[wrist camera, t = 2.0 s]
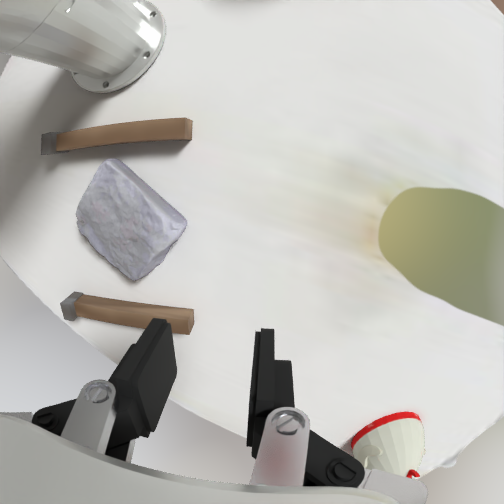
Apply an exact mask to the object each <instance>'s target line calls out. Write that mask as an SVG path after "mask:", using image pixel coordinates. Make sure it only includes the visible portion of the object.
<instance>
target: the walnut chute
mask: <svg viewBox="0 0 504 504" xmlns="http://www.w3.org/2000/svg"><path fill="white" fill-rule="evenodd" d="M168 140H192V120H190V119H187V118H170V119H156V120H145V121H135V122H126V123H118V124H111V125H104V126H97V127H91V128H85V129H80V130H74V131H69V132H64V133H59V132H50V133H46V134H42V143H41V155H46V154H57V153H65V152H69V150H74V149H81V148H88V147H96V146H104V145H114V144H124V143H136V142H150V141H168ZM60 305H61V309H62V312H63V316H64V319H65V320H69V321H74V320H75V319H76V318H77V317H78V316H79V317H84V318H89V319H93V320H98V321H103V322H109V323H114V324H119V325H125V326H131V327H137V328H143V329H146V328H147V326H148V325H149V323H150V322H151V320H152V319H153V318H160V319H166V320H167V323H170V324H171V328H172V333H178V334H186V335H189V334H190V332H191V330H192V327H193V325H194V311H193V309H186V308H177V307H168V306H160V305H152V304H144V303H136V302H129V301H122V300H115V299H109V298H102V297H96V296H90V295H84V294H83V293H79V292H73V293H72V294H71V295H70V296H69V297H67V298H66V299H65V300H64V301H63V302H61V303H60Z"/></svg>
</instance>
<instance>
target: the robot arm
mask: <svg viewBox="0 0 504 504" xmlns="http://www.w3.org/2000/svg"><path fill="white" fill-rule="evenodd" d="M165 35H166V24H165V19H164V17H163V15H162V13H161V12H160V10H159V9H158V8H157V7H156V6H155V5H153V4H152V3H151V2H148V1H145V0H0V53H3V54H8V55H13V56H17V57H21V58H25V59H30V60H34V61H37V62H41V63H45V64H48V65H52V66H56V67H59V68H62V69H66V70H69V71H71V73H72V77H73V79H74V80H75V82H76V83H77V84H78V85H79V86H80V87H81V88H83V89H85V90H87V91H91V92H94V93H107V92H113V91H116V90H119V89H121V88H123V87H125V86H127V85H129V84H130V83H132V82H133V81H135V80H136V79H137V78H139V77H140V76H141V75H142V74H143V73H144V72H145V71H146V70H147V69H148V68H149V67H150V66H151V64H152V63H153V62H154V60H155V59H156V57H157V56H158V54H159V52H160V50H161V48H162V45H163V43H164V39H165ZM148 56H149V57H148ZM176 375H177V366H176V359H175V352H174V345H173V337H172V328H171V324H170V323H167V320H166V319H160V318H153V319H152V320H151V322H150V323H149V325H148V326H147V328H146V329H145V331H144V332H143V334H142V335H141V337H140V338H139V340H138V341H137V343H136V344H132V345H131V346H130V348H129V349H128V351H127V352H126V354H125V355H124V357H123V358H122V360H121V362H120V363H119V365H118V366H117V368H116V369H115V371H114V372H113V374H112V375H111V377H110V379H109V380H108V381H105V380H94V381H91V382H89V383H87V384H86V385H84V387H83V388H82V389H81V392H80V394H79V396H78V398H77V399H74V400H70V401H67V402H63V403H60V404H56V405H53V406H49V407H45V408H42V409H40V410H38V411H37V412H36V413H35V414H34V415H33V413H32V412H26V413H25V412H20V413H4V412H3V413H2V412H0V504H425V502H426V499H427V495H428V490H427V487H426V485H425V484H424V483H423V482H421V481H419V480H416V479H412V478H408V477H404V476H400V475H396V474H392V473H388V472H385V471H381V470H378V469H374V468H373V469H372V470H369V469H366V468H364V467H363V465H362V464H361V462H359V461H358V460H357V459H355V458H354V457H352V456H350V455H349V454H347V453H346V452H344V451H342V450H341V449H339V448H337V447H336V446H334V445H333V444H331V443H330V442H328V441H327V440H325V439H324V438H322V437H320V436H319V435H317V434H316V433H315V432H313V431H312V430H310V420H309V418H308V416H307V415H306V414H305V413H304V412H303V411H301V410H299V409H297V408H295V405H294V391H293V377H292V364H291V361H288V360H274V329H263V328H261V332H256V333H255V345H254V356H253V367H252V378H251V388H250V400H249V415H248V430H247V446H250V447H252V457H254V458H255V459H256V462H255V466H254V469H253V473H252V477H251V480H250V483H249V485H243V484H233V483H223V482H215V481H209V480H202V479H196V478H189V477H185V476H180V475H175V474H170V473H166V472H161V471H157V470H153V469H149V468H146V467H142V466H138V465H135V464H131V459H132V454H133V450H134V445H135V439H136V438H139V436H143V437H147V438H148V437H149V434H150V432H154V431H155V429H156V427H157V424H158V421H159V419H160V416H161V414H162V411H163V408H164V406H165V403H166V401H167V398H168V396H169V393H170V391H171V388H172V386H173V383H174V381H175V378H176Z"/></svg>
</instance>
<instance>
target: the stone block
mask: <svg viewBox="0 0 504 504" xmlns="http://www.w3.org/2000/svg"><path fill="white" fill-rule="evenodd" d="M76 217H77V219H78V221H77V225H78V228H79V231H80V232H81V234H82V235H84V236H85V237H87V239H88V240H89V242H90V244H91V245H92V246H93V247H94V248H95V250H96V251H98V252H99V253H100V254H101V255H102V256H105V258H106V259H107V260H108V261H109V262H110V263H111V264H112V265H113V266H115V267H117V268H118V269H119V270H120V272H122V273H123V274H124V275H126V276H127V277H128V278H130V279H131V280H133V281H134V280H138V279H140V278H141V277H144V276H146V275H147V274H148V273H149V272H150V271H152V270H153V269H154V268H155V267H156V266H157V265H160V263H161V262H162V261H164V258H165V256H166V254H167V252H169V249H170V246H171V245H172V244H173V243H174V242H176V241H177V240H178V238H179V237H180V236H181V234H182V233H183V232H184V230H185V228H186V226H187V220H186V219H185V218H184V217H183V216H182V215H181V214H180V213H179V212H178V211H177V210H176V209H175V208H173V207H172V206H171V205H170V204H169V203H168V202H167V201H165V200H164V199H163V198H162V197H161V196H160V195H159V194H158V193H156V192H155V191H154V190H153V189H152V188H151V187H150V186H149V185H147V184H146V183H145V182H144V181H143V180H142V179H141V178H139V177H138V176H137V175H136V174H135V173H134V172H133V171H132V170H131V169H130V168H129V167H128V166H126V165H125V164H124V163H123V162H122V161H120V160H118V159H107V160H105V161H104V162H103V163H102V164H101V165H100V166H99V168H98V170H97V172H96V173H95V175H94V177H93V180H92V181H91V183H90V185H89V186H88V188H87V190H86V192H85V193H84V195H83V196H82V199H81V201H80V203H79V205H78V208H77V211H76Z"/></svg>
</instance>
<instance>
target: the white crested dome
mask: <svg viewBox="0 0 504 504" xmlns="http://www.w3.org/2000/svg"><path fill="white" fill-rule="evenodd" d="M351 447H352V451H353V455H354V458H355V459H357V460H358V461H359V462H361V464H362V465H363V467H364V468H366V469H369V470H372V469H373V468H374V469H378V470H381V471H385V472H388V473H392V474H396V475H400V476H404V477H408V478H412V476H414V477H420V475H419V474H418V473H417V472H416V471H417V470H418V468H419V466H420V464H421V461H422V458H423V455H424V454H425V453H426V450H425V448H424V447H425V436H424V428H423V424H422V422H421V420H420V418H419V416H418V415H417V414H415V413H413V412H400V413H394V414H391V415H388V416H385V417H382V418H380V419H378V420H375V421H374V422H372V423H370V424H369V425H367V426H365V427H364V428H363V429H361V430H360V431H359V432H358V433H357V434H356V435H355V436H354V438H353V439H352V442H351Z"/></svg>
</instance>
